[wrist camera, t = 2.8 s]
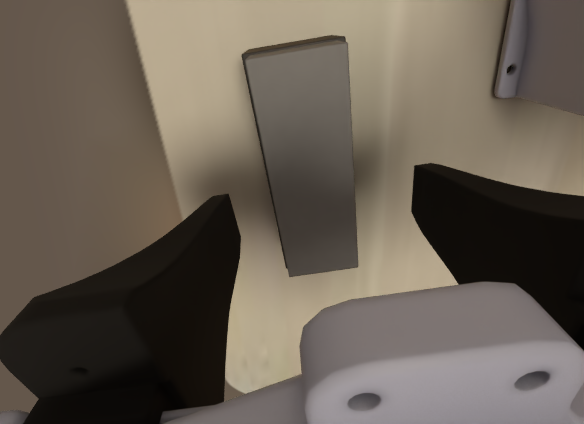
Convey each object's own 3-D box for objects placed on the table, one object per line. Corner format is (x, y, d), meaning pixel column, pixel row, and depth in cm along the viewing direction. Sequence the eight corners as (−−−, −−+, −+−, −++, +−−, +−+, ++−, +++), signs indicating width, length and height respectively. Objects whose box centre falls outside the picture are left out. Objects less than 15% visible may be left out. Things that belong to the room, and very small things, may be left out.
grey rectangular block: (345, 227, 22) (364, 281, 17) (284, 236, 22) (287, 292, 17) (332, 35, 16) (356, 37, 11) (247, 49, 16) (235, 57, 11)
